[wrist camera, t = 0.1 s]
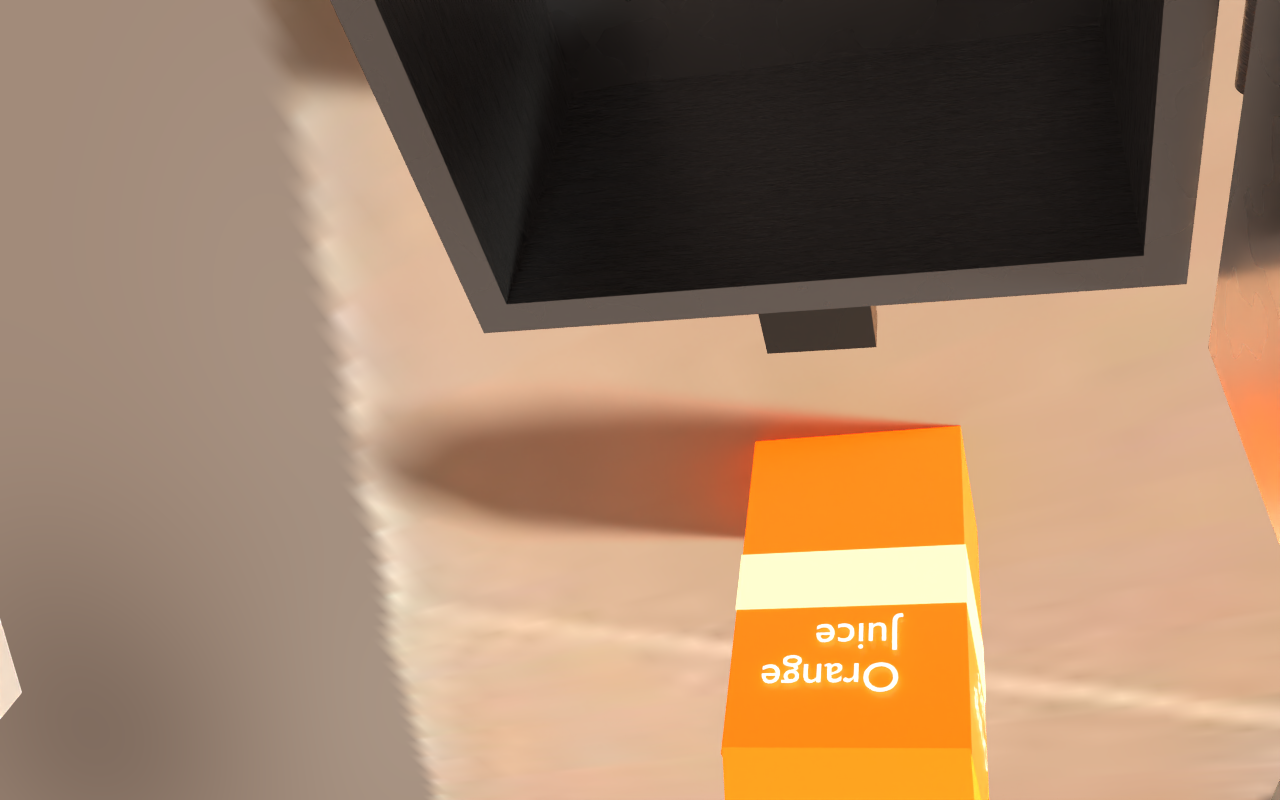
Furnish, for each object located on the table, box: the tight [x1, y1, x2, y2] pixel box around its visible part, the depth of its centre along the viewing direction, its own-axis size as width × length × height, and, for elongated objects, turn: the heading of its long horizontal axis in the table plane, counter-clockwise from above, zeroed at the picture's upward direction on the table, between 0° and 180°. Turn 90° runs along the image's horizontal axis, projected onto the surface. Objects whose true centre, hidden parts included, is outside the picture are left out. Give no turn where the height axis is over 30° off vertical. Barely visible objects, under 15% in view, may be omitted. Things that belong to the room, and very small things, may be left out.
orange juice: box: [721, 426, 989, 800], centre depth 47 cm, size 8×9×20 cm
